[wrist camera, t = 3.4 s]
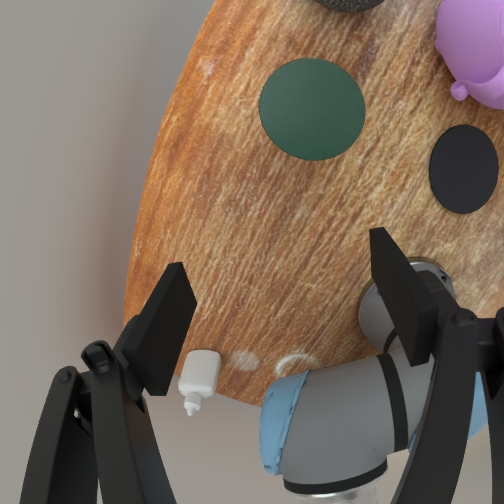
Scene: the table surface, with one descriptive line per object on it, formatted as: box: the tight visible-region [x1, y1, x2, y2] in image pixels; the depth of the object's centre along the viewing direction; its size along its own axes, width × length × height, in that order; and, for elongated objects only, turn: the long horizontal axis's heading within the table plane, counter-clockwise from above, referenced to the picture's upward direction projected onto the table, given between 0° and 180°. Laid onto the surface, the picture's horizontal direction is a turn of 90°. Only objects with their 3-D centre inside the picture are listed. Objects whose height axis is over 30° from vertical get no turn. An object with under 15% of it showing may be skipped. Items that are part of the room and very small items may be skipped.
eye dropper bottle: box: [178, 350, 222, 416], centre depth 43 cm, size 4×6×12 cm
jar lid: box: [258, 58, 365, 161], centre depth 22 cm, size 8×8×2 cm
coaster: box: [429, 125, 499, 214], centre depth 32 cm, size 12×12×1 cm
